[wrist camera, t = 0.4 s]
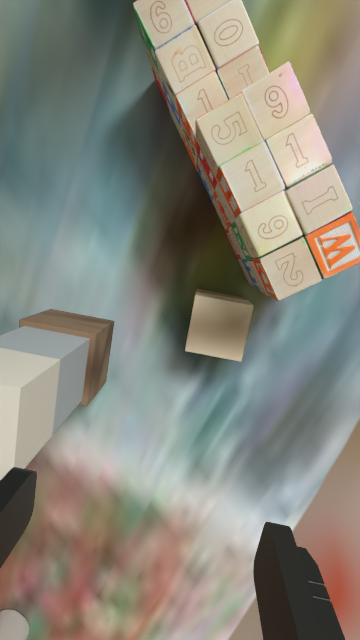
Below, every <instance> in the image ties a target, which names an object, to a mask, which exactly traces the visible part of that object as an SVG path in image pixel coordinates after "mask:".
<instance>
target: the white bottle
mask: <svg viewBox="0 0 360 640" xmlns="http://www.w3.org/2000/svg"><path fill="white" fill-rule="evenodd" d="M29 631H30V628H29V624H28V622H27V620H26V619H25V618H24V617H23V616H22V615H21V614H20V613H19V612H17V611H15V610H11V609H7V610H3V611H0V640H26V639H27V637H28V635H29Z"/></svg>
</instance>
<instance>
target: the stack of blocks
mask: <svg viewBox="0 0 360 640" xmlns="http://www.w3.org/2000/svg"><path fill="white" fill-rule="evenodd" d="M133 8H134V12H135V16H136V19H137V23H138V26H139V30H140V33H141V36H142V38H143V40H144V43H145V46H146V50H147V54H148V57H149V60H150V63H151V66H152V71H153V74H154V77H155V81H156V83H157V85H158V87H159V89H160V91H161V93H162V95H163V97H164V99H165V101H166V104H167V105H168V108H169V111H170V114H171V116H172V119H173V121H174V123H175V125H176V127H177V129H178V131H179V134H180V136H181V138H182V140H183V141H184V144H185V147H186V149H187V151H188V153H189V155H190V157H191V160H192V162H193V164H194V166H195V168H196V170H197V172H198V173H199V175H200V177H201V179H202V181H203V184H204V186H205V188H206V190H207V192H208V194H209V197H210V199H211V201H212V202H213V205H214V207H215V209H216V211H217V213H218V216H219V218H220V220H221V222H222V224H223V226H224V228H225V232H226V234H227V237H228V239H229V241H230V243H231V245H232V248H233V250H234V252H235V254H236V256H237V259H238V261H239V264H240V266H241V268H242V270H243V272H244V275H245V277H246V279H247V281H248V283H249V285H250V286H252V287H254V288H256V289H258V290H260V291H261V292H262V293H264V294H265V295H267V296H269V297H270V296H271V297H272V298H274V299H276V300H278V301H279V300H282V299H284V298H286V297H288V296H290V295H292V294H294V293H297V292H299V291H301V290H303V289H305V288H307V287H310V286H312V285H314V284H316V283H318V282H320V281H321V280H322V279H325V278H328V277H330V276H333V275H335V274H337V273H339V272H341V271H343V270H345V269H347V268H350V267H352V266H354V265H356V264H358V263H360V229H359V226H358V224H357V222H356V219H355V217H354V215H353V213H352V212H351V210H352V205H351V203H350V200H349V198H348V195H347V193H346V191H345V189H344V186H343V184H342V182H341V179H340V177H339V175H338V173H337V170H336V168H335V166H334V165H333V164H331V162H332V156H331V154H330V152H329V149H328V147H327V145H326V143H325V140H324V138H323V136H322V133H321V131H320V129H319V127H318V124H317V122H316V120H315V117H314V116H313V115H312V114H311V113H310V107H309V105H308V103H307V101H306V98H305V96H304V94H303V91H302V89H301V87H300V84H299V82H298V80H297V77H296V75H295V73H294V71H293V69H292V66H291V64H290V62H289V61H288V62H287V63H285V64H284V65H282V66H280V67H279V68H277V69H276V70H274V71H272V72H271V73H270V71H269V68H268V66H267V64H266V61H265V59H264V57H263V54H262V52H261V49H260V47H259V41H258V39H257V36H256V34H255V31H254V29H253V26H252V24H251V22H250V19H249V17H248V14H247V12H246V10H245V7H244V5H243V3H242V0H137V1H136V2H134V3H133Z"/></svg>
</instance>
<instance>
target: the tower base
mask: <svg viewBox="0 0 360 640" xmlns="http://www.w3.org/2000/svg"><path fill="white" fill-rule="evenodd" d="M23 326H27V327H33V328H38V329H43V330H48V331H53V332H59V333H64V334H69V335H74V336H79V337H85V338H90V341H89V349H88V357H87V365H86V373H85V381H84V389H83V397H82V401H81V402H80V403H79V405H83V406H87V405H88V404H89V403H90V401H91V400H92V399H93V398H94V396H95V395H96V394H97V393H98V391H99V390H100V389H101V387H102V386H103V385H104V384H105V382H106V378H107V370H108V363H109V356H110V349H111V341H112V334H113V327H114V321H111V320H106V319H100V318H95V317H90V316H85V315H79V314H74V313H69V312H63V311H58V310H53V309H50V310H47V311H44V312H41V313H38V314H35V315H32V316H29V317H26V318H23V319H20V320H19V328H20V327H23Z"/></svg>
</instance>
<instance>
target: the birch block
mask: <svg viewBox="0 0 360 640" xmlns="http://www.w3.org/2000/svg"><path fill="white" fill-rule="evenodd" d="M253 307H254V305H252V304H251V303H250V302H249V301H248V300H247V299H246V298H245V297H240V296H234V295H229V294H223V293H218V292H212V291H207V290H201V289H196V294H195V299H194V304H193V310H192V315H191V321H190V326H189V331H188V337H187V342H186V348H185V351H188V352H193V353H198V354H204V355H209V356H214V357H220V358H225V359H230V360H235V361H242V356H243V352H244V347H245V343H246V339H247V334H248V330H249V325H250V321H251V316H252V312H253Z"/></svg>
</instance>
